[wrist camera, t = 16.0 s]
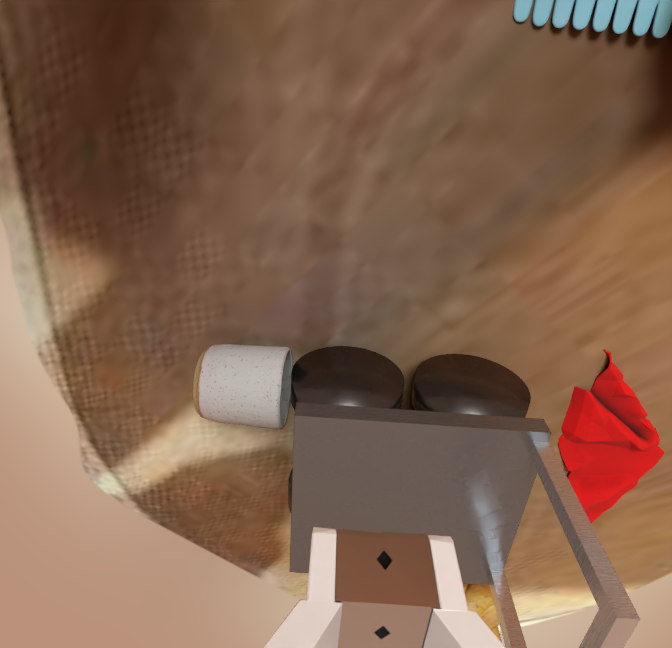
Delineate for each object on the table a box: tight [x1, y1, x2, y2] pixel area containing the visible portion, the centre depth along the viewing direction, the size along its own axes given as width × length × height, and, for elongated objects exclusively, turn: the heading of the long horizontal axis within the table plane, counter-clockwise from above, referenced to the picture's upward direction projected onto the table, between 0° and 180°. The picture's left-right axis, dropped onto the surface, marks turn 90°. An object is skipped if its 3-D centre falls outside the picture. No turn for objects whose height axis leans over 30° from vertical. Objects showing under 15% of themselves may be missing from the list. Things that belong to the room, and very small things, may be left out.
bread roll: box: [463, 583, 502, 642], centre depth 61 cm, size 13×10×8 cm
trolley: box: [288, 346, 640, 648], centre depth 40 cm, size 21×18×26 cm
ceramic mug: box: [193, 344, 292, 429], centre depth 47 cm, size 11×8×8 cm
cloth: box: [558, 350, 664, 523], centre depth 53 cm, size 26×14×2 cm, turn 175°
